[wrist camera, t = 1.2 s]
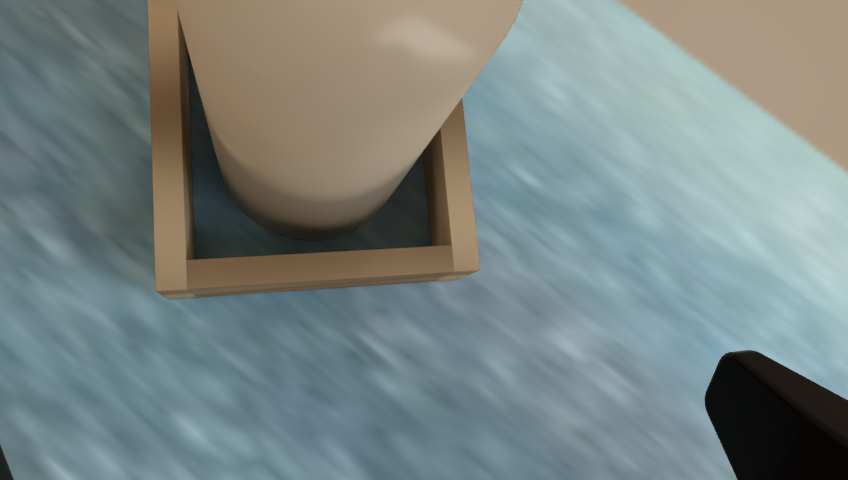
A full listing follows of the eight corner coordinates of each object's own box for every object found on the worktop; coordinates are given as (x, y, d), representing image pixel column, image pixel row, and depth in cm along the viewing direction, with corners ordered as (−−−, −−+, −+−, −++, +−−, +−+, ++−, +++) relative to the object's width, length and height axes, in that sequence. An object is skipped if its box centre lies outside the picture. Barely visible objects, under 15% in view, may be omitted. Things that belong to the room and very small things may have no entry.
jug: (407, 235, 23) (549, 104, 11) (221, 245, 21) (161, 106, 10) (388, 19, 24) (498, -302, 12) (211, 15, 22) (148, -352, 11)
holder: (458, 279, 23) (479, 269, 20) (169, 299, 21) (155, 291, 18) (432, 25, 24) (450, -12, 22) (160, 19, 22) (147, -23, 20)
